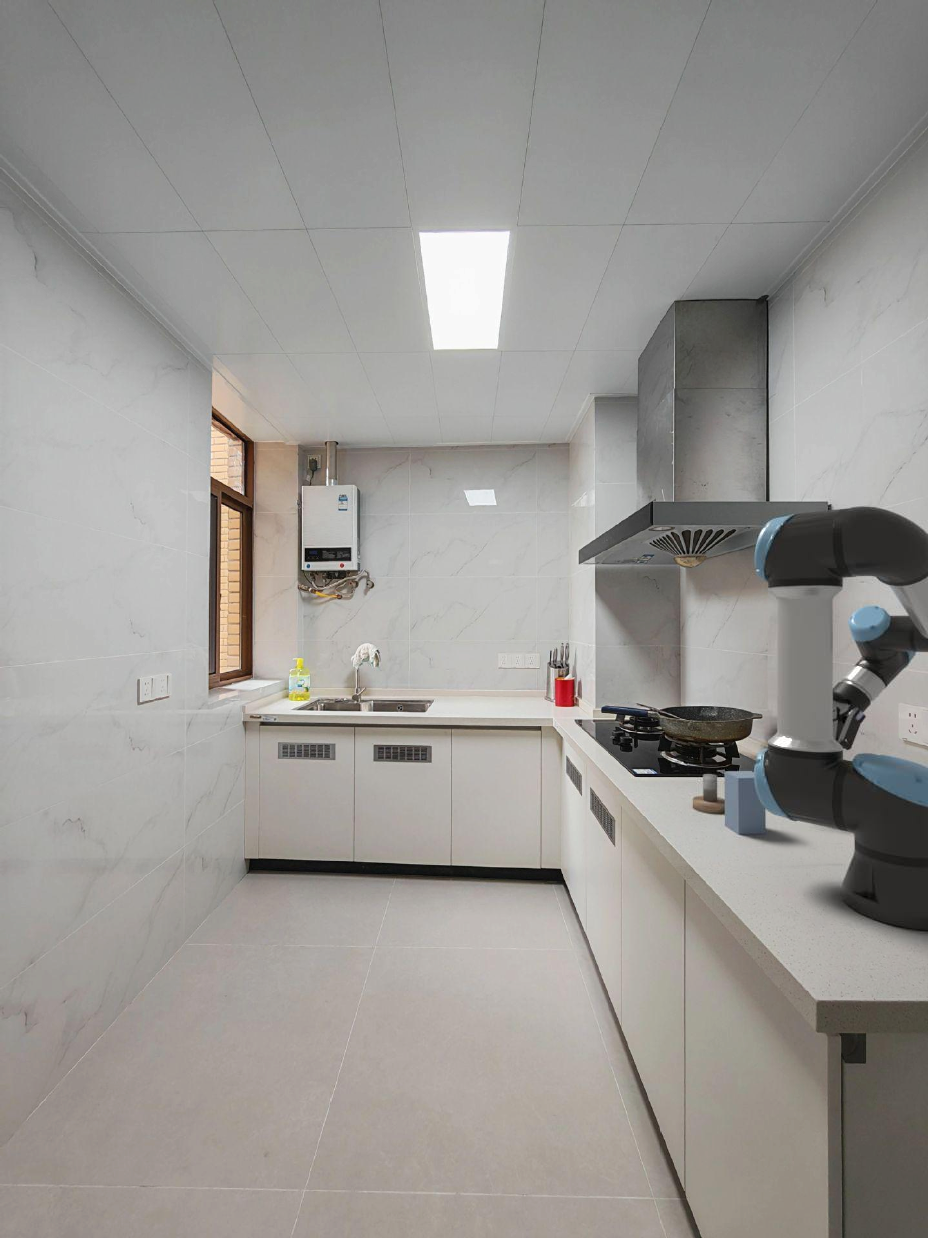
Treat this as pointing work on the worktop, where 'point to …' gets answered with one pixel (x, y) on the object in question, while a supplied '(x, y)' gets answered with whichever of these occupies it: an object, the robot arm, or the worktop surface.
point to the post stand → (709, 797)
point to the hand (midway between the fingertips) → (791, 761)
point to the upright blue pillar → (743, 804)
